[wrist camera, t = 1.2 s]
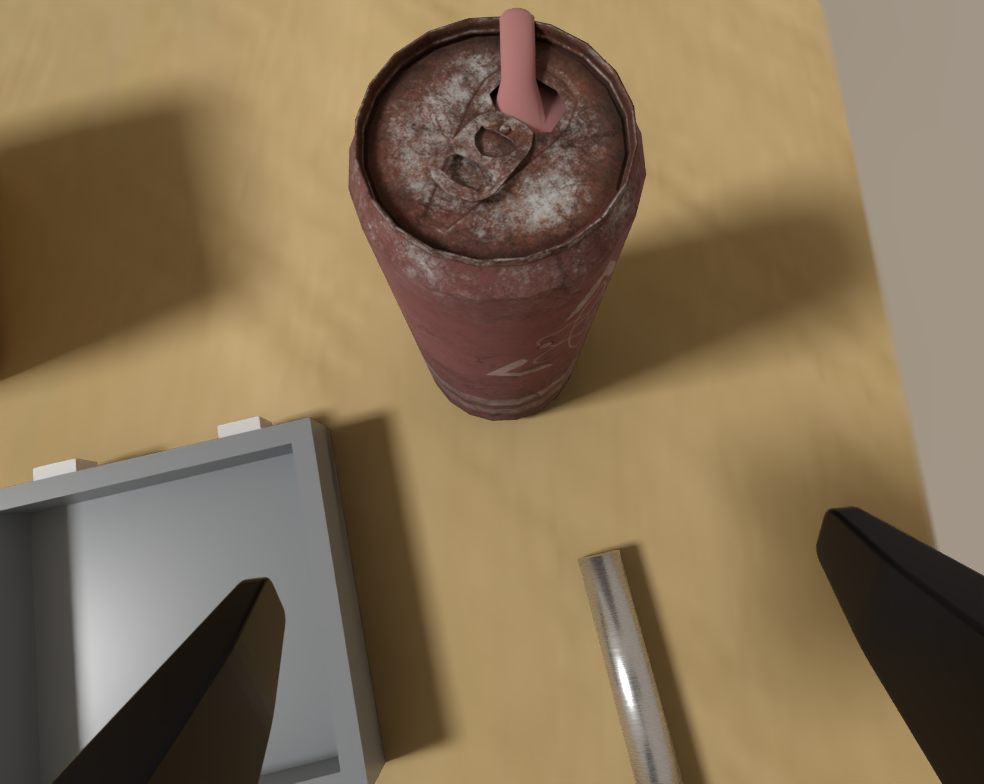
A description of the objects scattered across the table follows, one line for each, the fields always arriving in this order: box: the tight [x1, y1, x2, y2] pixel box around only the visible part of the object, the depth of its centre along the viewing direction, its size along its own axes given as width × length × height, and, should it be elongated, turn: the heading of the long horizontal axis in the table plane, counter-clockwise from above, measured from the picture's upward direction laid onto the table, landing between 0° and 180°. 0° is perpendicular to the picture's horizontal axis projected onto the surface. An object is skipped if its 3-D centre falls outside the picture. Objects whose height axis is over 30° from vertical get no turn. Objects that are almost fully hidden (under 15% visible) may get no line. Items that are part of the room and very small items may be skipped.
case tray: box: [0, 416, 385, 784], centre depth 21 cm, size 13×13×2 cm
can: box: [349, 8, 646, 421], centre depth 18 cm, size 6×6×14 cm
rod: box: [578, 550, 684, 784], centre depth 21 cm, size 10×2×2 cm
